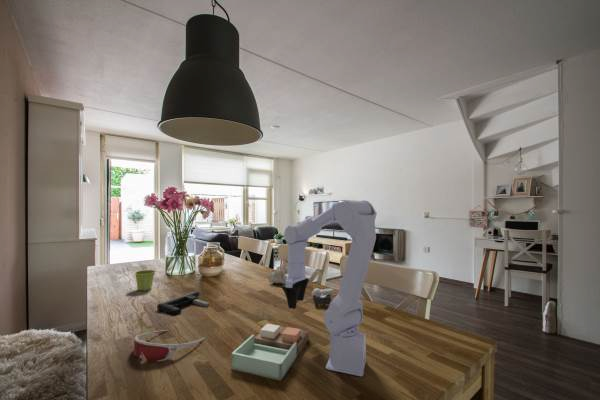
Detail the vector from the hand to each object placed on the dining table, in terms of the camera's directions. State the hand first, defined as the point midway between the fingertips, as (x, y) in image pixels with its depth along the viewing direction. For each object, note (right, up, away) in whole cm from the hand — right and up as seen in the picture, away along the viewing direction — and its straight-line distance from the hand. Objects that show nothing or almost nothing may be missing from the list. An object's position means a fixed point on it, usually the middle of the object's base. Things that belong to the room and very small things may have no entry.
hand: (296, 304), depth 88 cm
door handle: (-46, -12, +26) cm, 55 cm away
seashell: (-8, -12, +60) cm, 62 cm away
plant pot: (-78, -12, +49) cm, 93 cm away
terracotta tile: (-1, -8, -7) cm, 10 cm away
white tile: (-8, -8, -4) cm, 12 cm away
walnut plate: (-4, -10, -5) cm, 12 cm away
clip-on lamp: (+7, -12, +32) cm, 35 cm away
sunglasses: (-39, -11, -7) cm, 41 cm away
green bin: (-8, -10, -16) cm, 20 cm away
